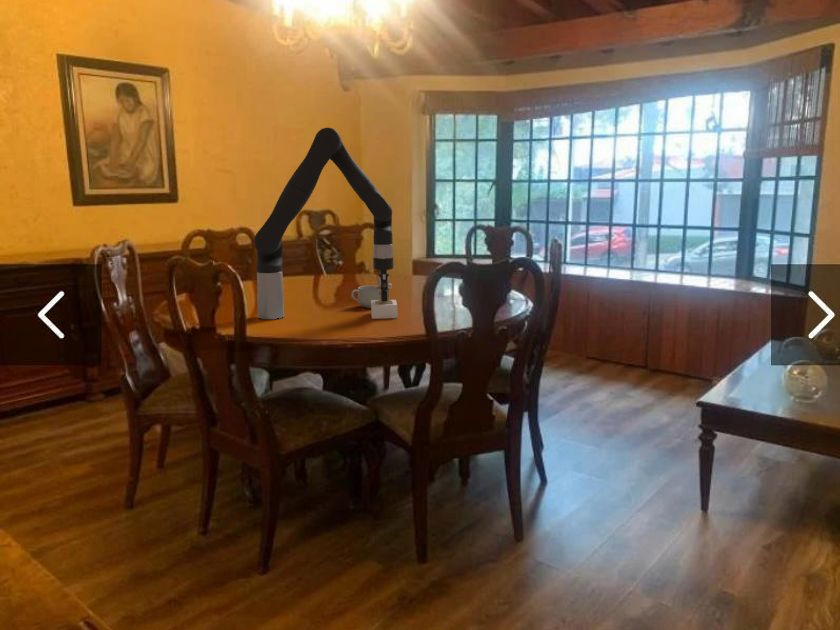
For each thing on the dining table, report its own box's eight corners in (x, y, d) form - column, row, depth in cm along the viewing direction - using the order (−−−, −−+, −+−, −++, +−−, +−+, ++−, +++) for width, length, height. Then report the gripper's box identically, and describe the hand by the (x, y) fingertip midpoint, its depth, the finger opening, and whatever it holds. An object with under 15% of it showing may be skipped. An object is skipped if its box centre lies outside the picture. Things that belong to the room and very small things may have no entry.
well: (371, 318, 248) (371, 305, 247) (371, 313, 259) (371, 300, 258) (397, 318, 249) (397, 304, 248) (395, 312, 260) (395, 299, 259)
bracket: (376, 316, 252) (375, 285, 249) (376, 314, 256) (375, 283, 253) (392, 316, 252) (391, 284, 250) (391, 314, 256) (391, 283, 254)
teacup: (380, 303, 279) (379, 284, 278) (388, 308, 269) (387, 288, 268) (347, 306, 274) (347, 286, 273) (354, 310, 264) (353, 290, 263)
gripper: (372, 254, 256) (373, 296, 259) (373, 258, 242) (374, 302, 245) (392, 254, 257) (392, 296, 260) (394, 258, 243) (394, 302, 246)
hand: (383, 299), depth 253 cm, fingers open, 8 cm apart
